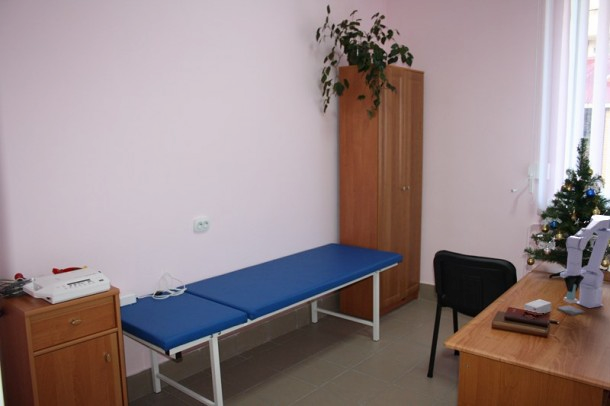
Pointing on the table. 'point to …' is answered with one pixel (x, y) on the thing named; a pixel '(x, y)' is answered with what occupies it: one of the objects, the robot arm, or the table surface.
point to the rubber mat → (570, 310)
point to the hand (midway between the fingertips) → (572, 290)
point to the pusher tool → (571, 296)
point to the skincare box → (538, 306)
